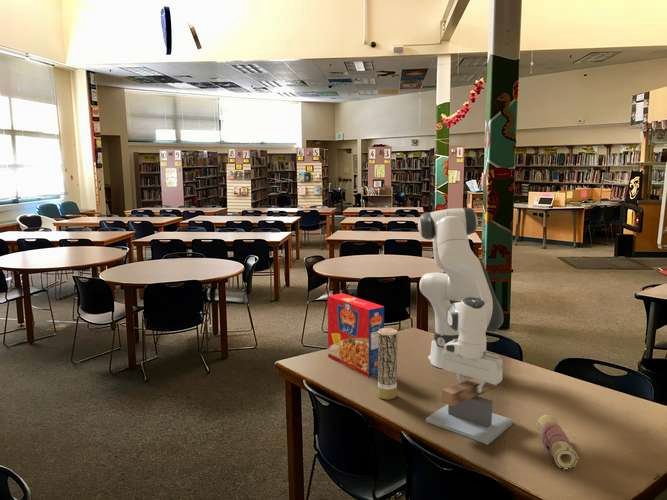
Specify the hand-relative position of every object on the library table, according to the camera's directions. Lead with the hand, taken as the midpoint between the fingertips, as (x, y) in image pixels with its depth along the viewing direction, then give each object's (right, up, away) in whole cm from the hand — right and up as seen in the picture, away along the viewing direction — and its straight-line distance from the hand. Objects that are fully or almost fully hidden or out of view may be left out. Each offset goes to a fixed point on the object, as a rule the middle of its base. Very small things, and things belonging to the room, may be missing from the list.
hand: (470, 389), depth 170 cm
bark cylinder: (-25, -9, +22) cm, 34 cm away
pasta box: (-36, -4, +53) cm, 64 cm away
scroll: (+20, -14, -16) cm, 30 cm away
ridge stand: (0, -11, +2) cm, 12 cm away
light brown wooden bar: (0, -2, 0) cm, 2 cm away
